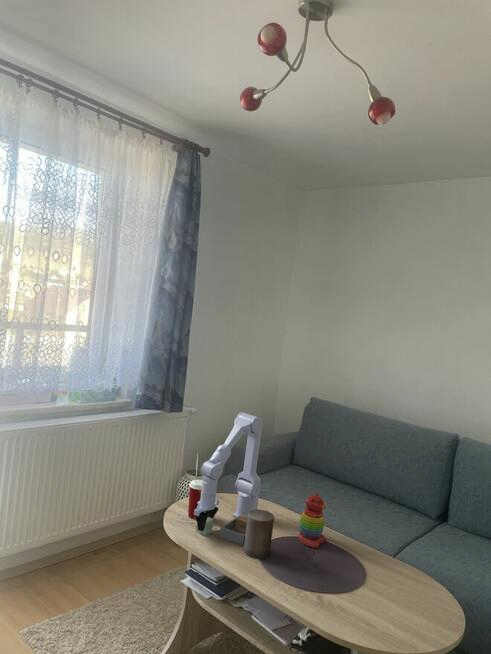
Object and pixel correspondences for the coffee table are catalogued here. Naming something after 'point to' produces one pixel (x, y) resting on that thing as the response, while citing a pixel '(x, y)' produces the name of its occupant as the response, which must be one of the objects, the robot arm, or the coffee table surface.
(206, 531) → the sage block
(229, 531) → the tray
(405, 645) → the coffee table surface
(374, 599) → the coffee table surface
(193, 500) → the paper cup
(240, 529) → the walnut block
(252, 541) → the pillar candle
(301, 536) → the stacking bear
